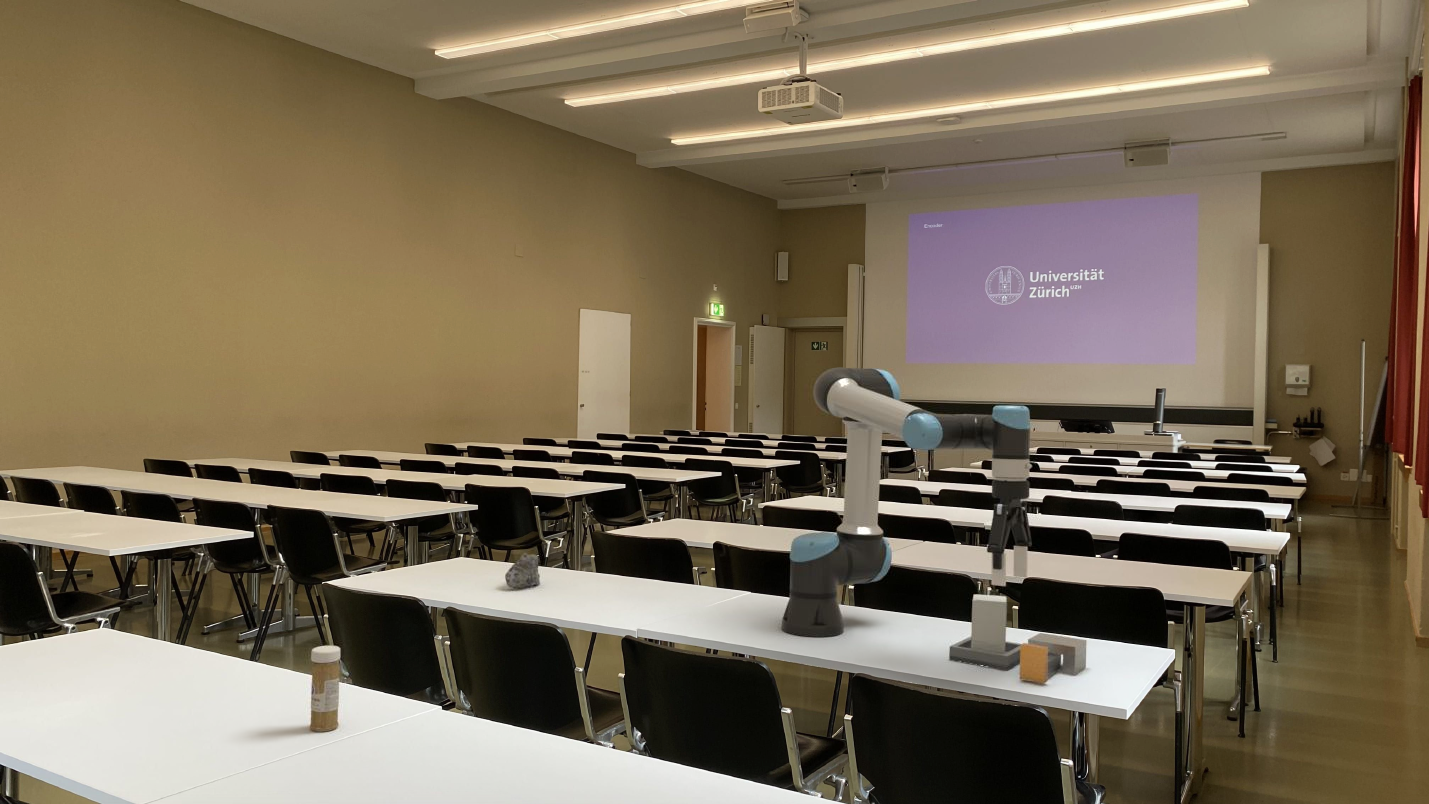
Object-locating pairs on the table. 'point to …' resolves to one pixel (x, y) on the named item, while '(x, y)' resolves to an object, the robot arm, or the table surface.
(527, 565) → the mineral rock
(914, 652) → the table surface
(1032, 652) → the lock pin
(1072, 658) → the pin mount
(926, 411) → the robot arm
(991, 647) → the supplement box
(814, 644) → the table surface
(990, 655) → the cradle
